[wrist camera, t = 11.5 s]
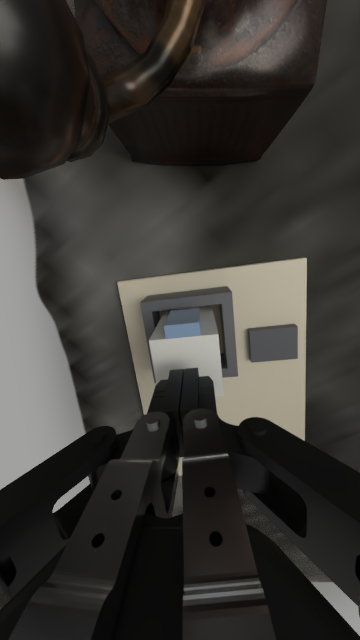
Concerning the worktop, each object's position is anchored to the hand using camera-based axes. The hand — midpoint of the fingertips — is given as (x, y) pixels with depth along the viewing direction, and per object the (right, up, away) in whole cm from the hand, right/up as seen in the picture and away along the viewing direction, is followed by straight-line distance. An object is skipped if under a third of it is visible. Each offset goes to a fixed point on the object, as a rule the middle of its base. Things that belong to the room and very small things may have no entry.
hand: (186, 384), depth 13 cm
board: (+4, -3, +11) cm, 12 cm away
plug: (+1, +3, +9) cm, 9 cm away
